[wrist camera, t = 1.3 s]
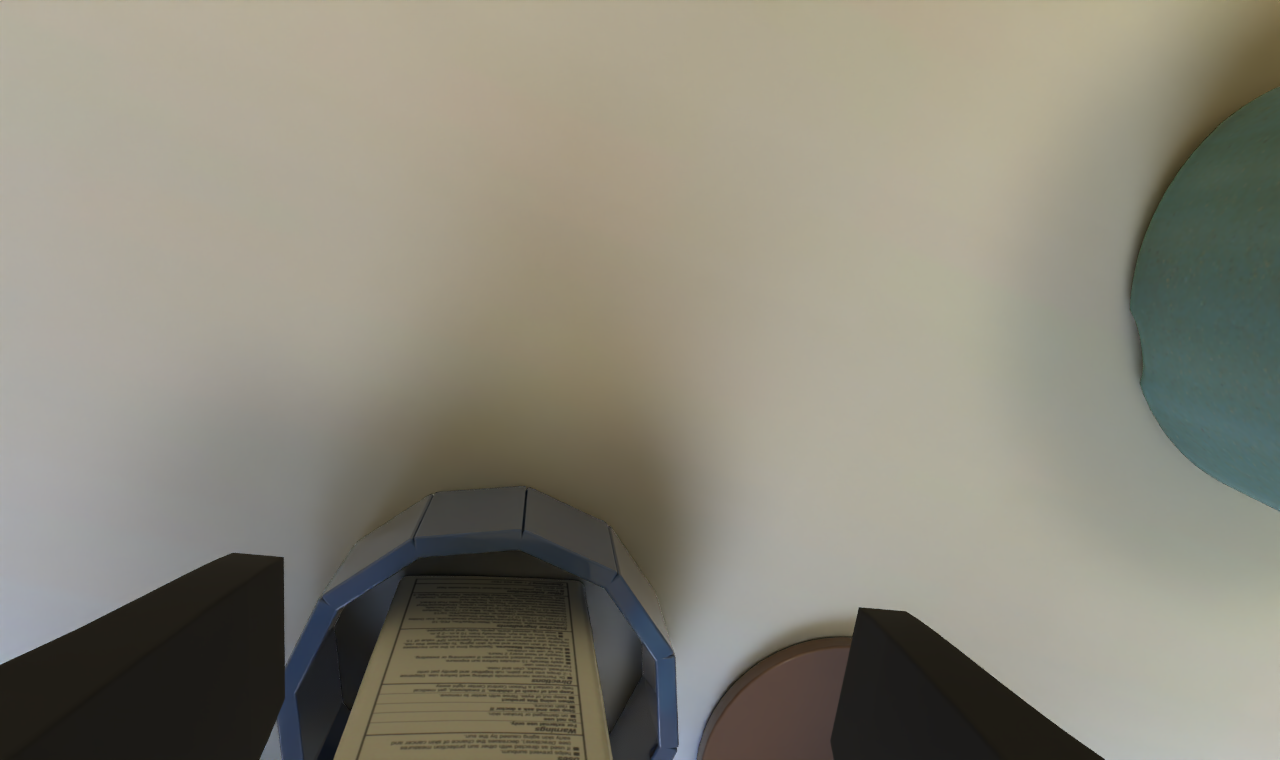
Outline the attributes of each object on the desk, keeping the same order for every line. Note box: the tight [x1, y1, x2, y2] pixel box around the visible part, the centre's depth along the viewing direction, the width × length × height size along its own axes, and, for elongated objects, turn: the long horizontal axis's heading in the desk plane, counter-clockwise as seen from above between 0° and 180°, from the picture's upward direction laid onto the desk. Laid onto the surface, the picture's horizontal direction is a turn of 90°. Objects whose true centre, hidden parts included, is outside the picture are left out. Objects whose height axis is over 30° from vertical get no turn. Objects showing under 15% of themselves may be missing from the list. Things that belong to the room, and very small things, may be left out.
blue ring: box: [277, 486, 679, 760], centre depth 21 cm, size 9×9×4 cm
